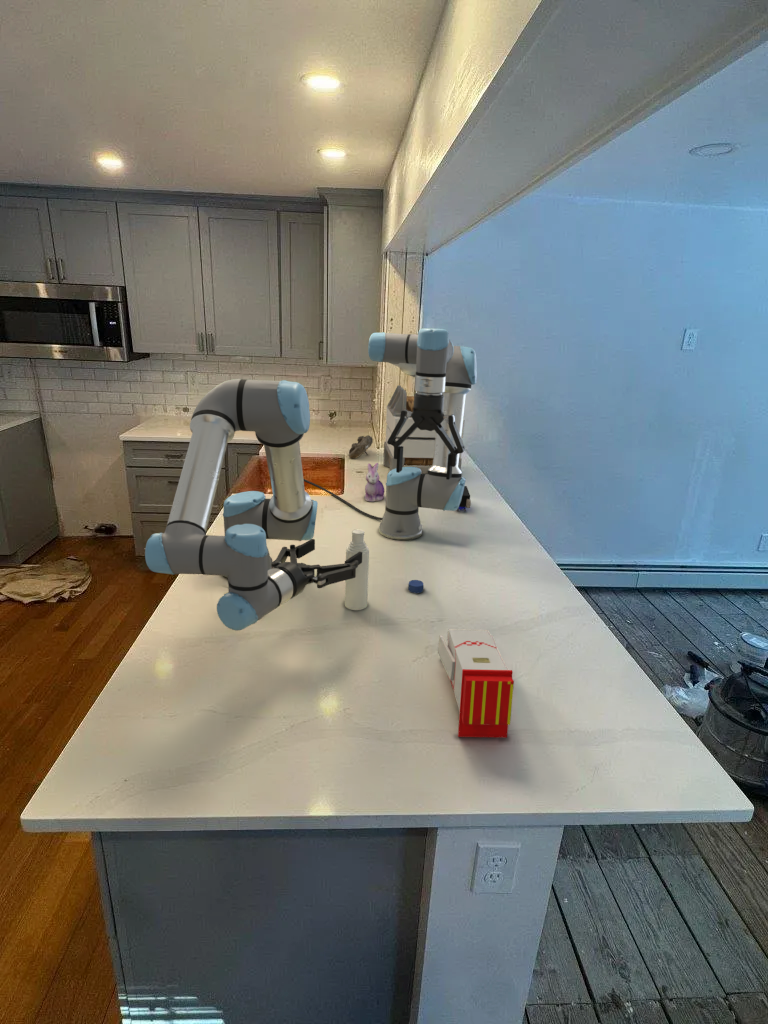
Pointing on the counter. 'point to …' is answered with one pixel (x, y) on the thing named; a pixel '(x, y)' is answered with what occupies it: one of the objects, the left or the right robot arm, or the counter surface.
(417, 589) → the cap
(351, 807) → the counter surface
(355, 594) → the bottle
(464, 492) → the figurine character
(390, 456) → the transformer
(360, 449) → the fossil
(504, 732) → the toy
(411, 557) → the counter surface
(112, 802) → the counter surface
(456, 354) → the right robot arm
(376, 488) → the figurine
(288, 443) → the left robot arm
